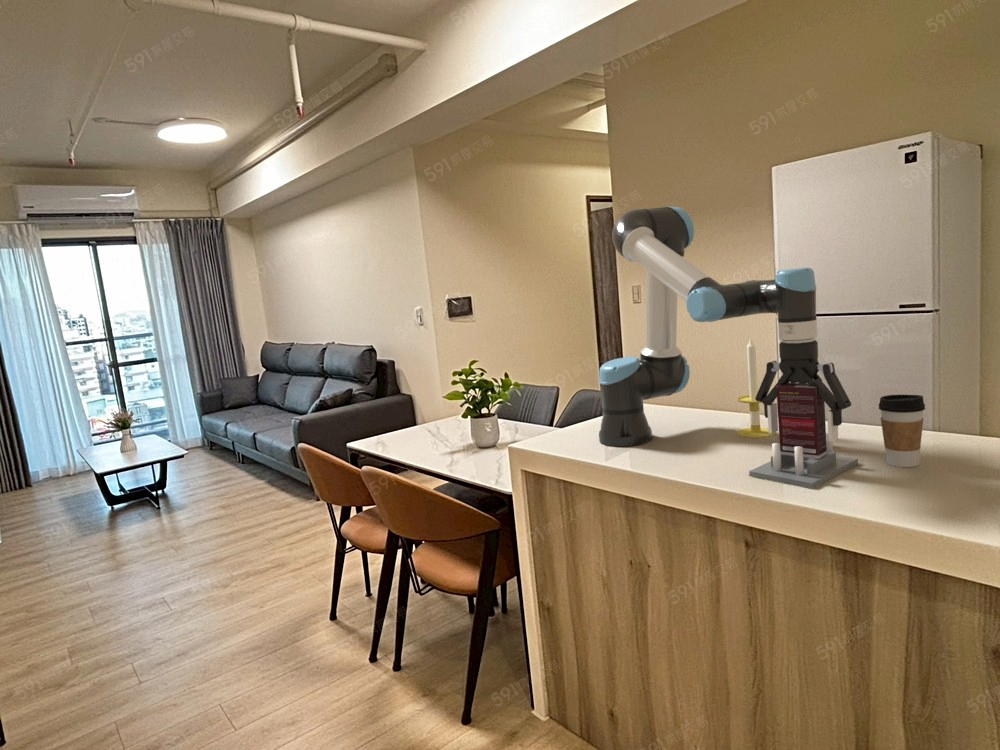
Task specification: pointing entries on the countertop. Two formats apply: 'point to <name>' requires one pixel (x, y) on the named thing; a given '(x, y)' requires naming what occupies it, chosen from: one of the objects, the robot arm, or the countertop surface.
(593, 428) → the countertop surface
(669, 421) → the countertop surface
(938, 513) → the countertop surface
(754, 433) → the candle
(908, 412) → the coffee cup
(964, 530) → the countertop surface
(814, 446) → the supplement box
